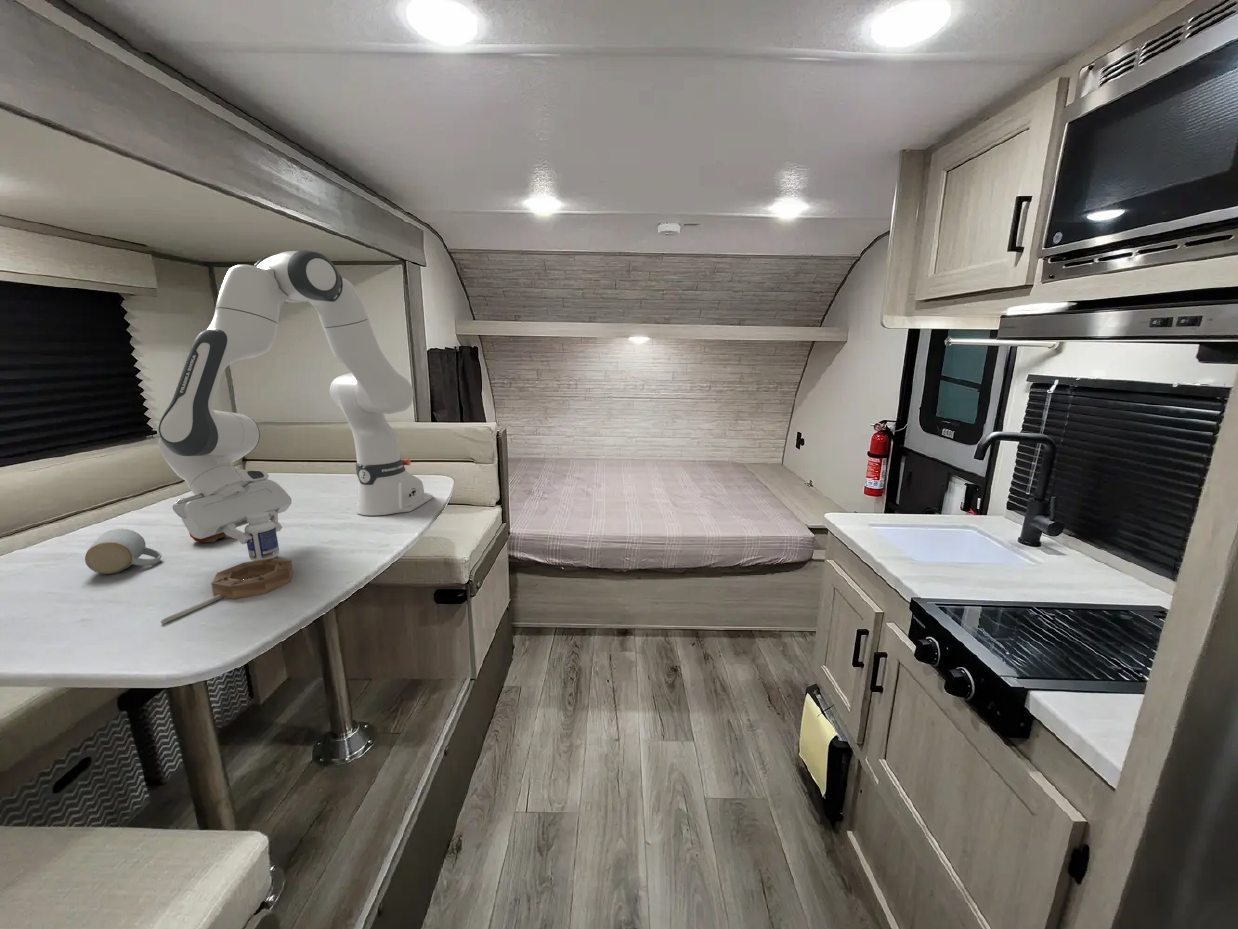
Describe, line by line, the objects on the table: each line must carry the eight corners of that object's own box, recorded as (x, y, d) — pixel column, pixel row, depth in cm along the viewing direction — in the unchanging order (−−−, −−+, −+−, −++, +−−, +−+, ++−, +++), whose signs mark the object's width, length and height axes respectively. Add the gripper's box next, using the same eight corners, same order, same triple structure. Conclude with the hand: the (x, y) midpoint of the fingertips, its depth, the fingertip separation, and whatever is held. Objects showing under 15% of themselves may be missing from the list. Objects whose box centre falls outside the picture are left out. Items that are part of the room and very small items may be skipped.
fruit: (215, 541, 114) (195, 512, 113) (195, 555, 116) (175, 527, 116) (247, 529, 122) (229, 502, 121) (228, 543, 124) (209, 516, 123)
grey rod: (219, 598, 90) (218, 594, 90) (222, 598, 90) (221, 594, 90) (159, 624, 82) (159, 620, 81) (163, 625, 81) (162, 620, 81)
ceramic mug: (85, 579, 98) (77, 543, 96) (101, 565, 105) (93, 530, 103) (156, 569, 103) (150, 534, 102) (167, 555, 110) (161, 523, 108)
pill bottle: (283, 550, 111) (276, 509, 108) (275, 560, 106) (267, 517, 103) (255, 553, 109) (247, 511, 107) (245, 563, 104) (237, 519, 102)
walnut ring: (261, 567, 104) (259, 556, 103) (306, 574, 100) (304, 562, 100) (199, 593, 92) (197, 580, 92) (247, 601, 89) (245, 589, 88)
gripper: (172, 492, 96) (218, 545, 95) (272, 469, 115) (310, 512, 114) (161, 512, 98) (206, 563, 97) (260, 486, 117) (298, 528, 117)
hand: (263, 535), depth 106 cm, fingers closed on pill bottle, 5 cm apart
